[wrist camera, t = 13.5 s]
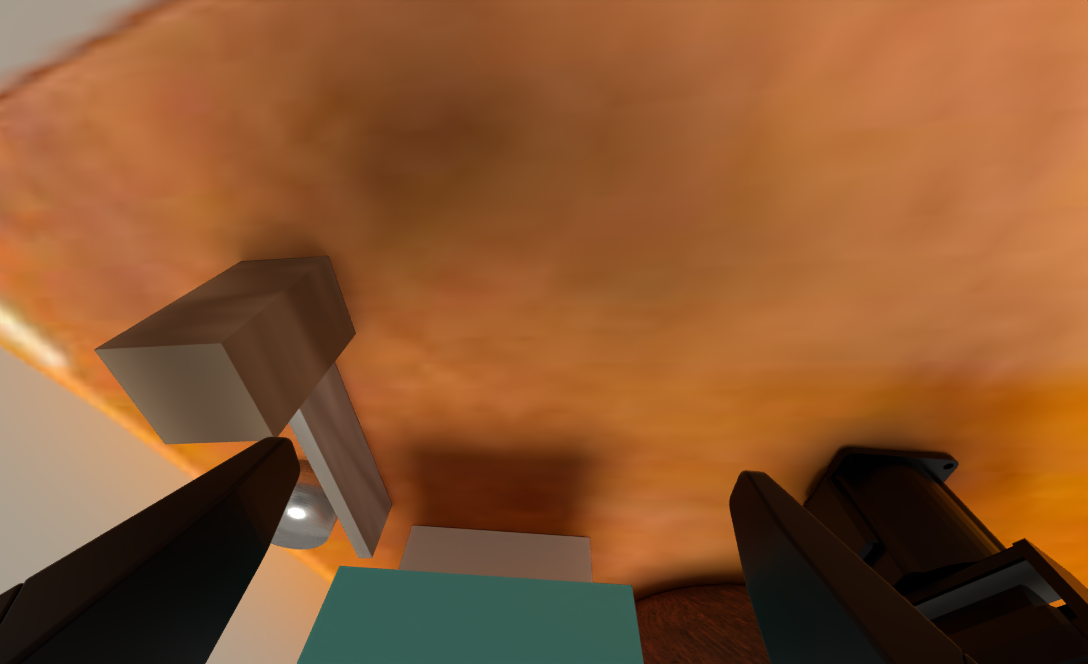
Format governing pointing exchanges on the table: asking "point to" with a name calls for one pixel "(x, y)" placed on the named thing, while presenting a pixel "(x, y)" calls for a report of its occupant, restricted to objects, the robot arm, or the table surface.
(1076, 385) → the table surface
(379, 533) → the grey mallet
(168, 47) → the table surface
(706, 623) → the wooden bowl
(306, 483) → the steel puck
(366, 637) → the l-shaped block
